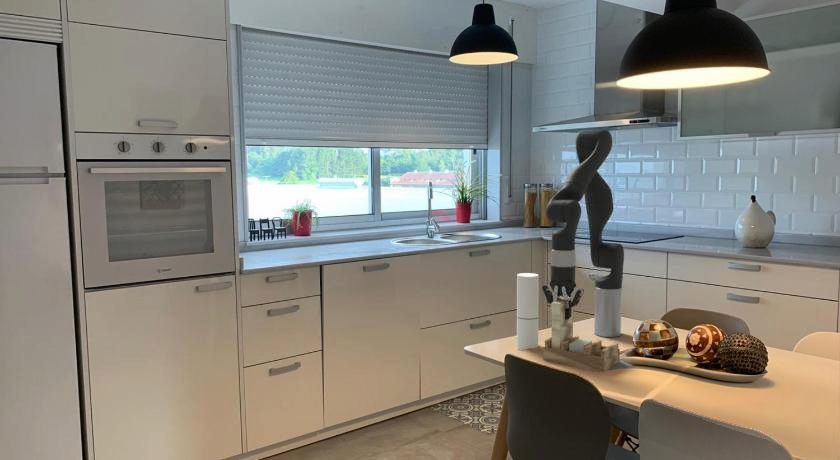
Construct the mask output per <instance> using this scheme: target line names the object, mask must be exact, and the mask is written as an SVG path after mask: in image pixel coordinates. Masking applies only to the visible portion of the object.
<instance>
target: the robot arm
mask: <svg viewBox="0 0 840 460" xmlns="http://www.w3.org/2000/svg"><path fill="white" fill-rule="evenodd" d="M612 148H613V136H612V134H611V132H610V131H609V130H607V129H602V128H601V129H584V130H583V129H582V130H579V131H578V132H577V133H576V137H575V150H576V156H577V159H578V163H579V164H578V165H577V166H576V167H575V168H573V170H571V171H570V172H569V174H568V175H567V177H566V179H565V180H564V183H563V185H562V187H561V188H560V189H559V190H558V191H557V192H556V194H554V195H553V196H552V198H551V199H550V200H549V201H548V203H547V205H546V208H545V209H546V210H545V214H546V217H547V220H549V221H550V222H552V223H564V224H565V223H566V224H565V227H564V228H563V229H558V230H554V231H553V232H552V234H551V253H550V261H549V262H550V282H549V283H548V284H545V285H542V291H543V294H544V295H545V298H546V301H547V303H548V305H551V303H552V302H554V301H557V300H559V299H561V298H564V301H565V307H566V308H565V320H568V319H570V318H571V316H572V307H573V308H574V307H576V306H578V305H579V303H580V300H581V298H582V296H583V294H584V292H585V290H584V288H579V287H578V286H577V283H576V250H575V249H576V234H577V231H578V226H579V222H580V219H581V217H582V207H581V205H580V203H579V202H581V201H582V199H583V197H584V204H585V211H586V215H587V222H588V230H589V231H588V232H589V233H588V234H589V252H590V260H591V263H592V265H593V266H594V267H595V268H598V269H599V268H600V269H608V270H609V269H610V272H609V273H608V274H607V275H604V276H599V277H598V278H596V279H595V280H594V287H595V288H594V330H593V331H594V335H596V336H598V337H604V338H616V337H617V338H618V337H620V336H621V335H622V304H623V303H622V299H623V297H622V291H623V289H622V287H623V275H624V261H625V250H624V249H625V248H624V246H623V245H622V244H621V243H618V242H603V239H602V238H603V232H604V231H603V230H604V229H605V226H606V225H607V223H608V221H609V220H610V218H611V216H612V214H613V212H614V201H613V192H612V189H611V188H610V185H608V183H607V182H606V181H605V179H604V178H603V177H602V175H601V174H600V173H599V172H598V170H600V167H602V165H603V163H604V162H605V161H606V159H607V158H608V157H609V155H610V153H611V151H612ZM552 292H553V293H552ZM573 292H574V296H573V295H572V294H573ZM572 298H573V300H572Z"/></svg>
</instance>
